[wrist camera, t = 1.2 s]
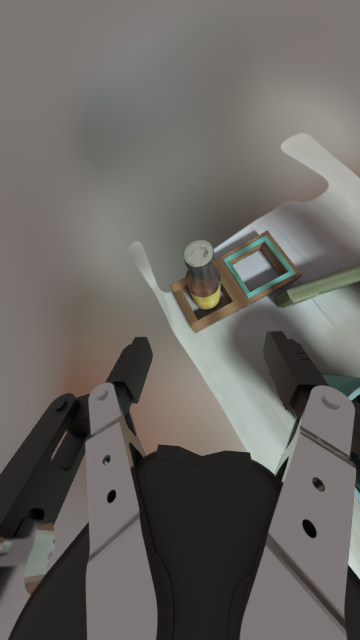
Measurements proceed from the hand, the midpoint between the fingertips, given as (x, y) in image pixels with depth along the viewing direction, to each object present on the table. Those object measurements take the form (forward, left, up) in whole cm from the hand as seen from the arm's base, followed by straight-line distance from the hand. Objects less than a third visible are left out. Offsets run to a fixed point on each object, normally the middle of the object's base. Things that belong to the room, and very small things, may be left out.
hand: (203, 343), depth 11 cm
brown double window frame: (-11, -11, -28) cm, 32 cm away
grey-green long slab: (-30, +1, -28) cm, 42 cm away
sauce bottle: (-5, -11, -28) cm, 30 cm away
